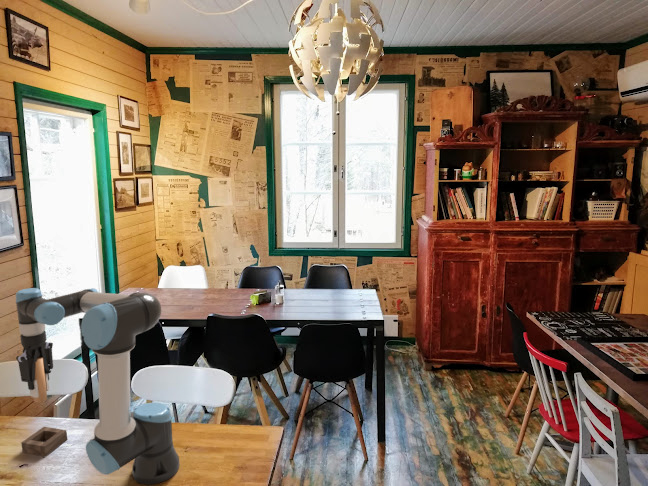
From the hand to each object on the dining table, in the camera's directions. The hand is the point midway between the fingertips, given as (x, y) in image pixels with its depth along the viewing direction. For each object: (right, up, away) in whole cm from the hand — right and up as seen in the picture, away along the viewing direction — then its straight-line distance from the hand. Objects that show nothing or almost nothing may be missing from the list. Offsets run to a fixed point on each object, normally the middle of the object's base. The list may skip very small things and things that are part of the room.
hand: (40, 393), depth 164 cm
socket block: (-1, -21, +4) cm, 21 cm away
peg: (0, -3, +1) cm, 3 cm away
